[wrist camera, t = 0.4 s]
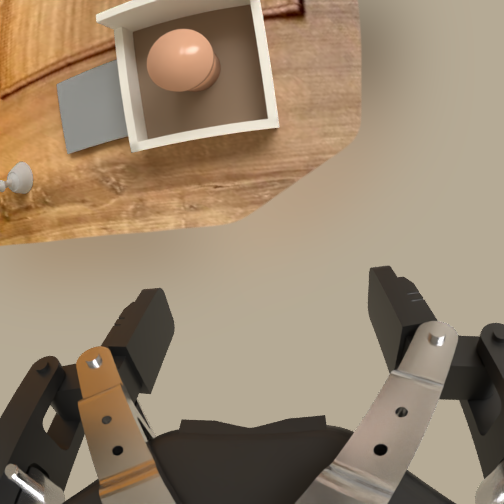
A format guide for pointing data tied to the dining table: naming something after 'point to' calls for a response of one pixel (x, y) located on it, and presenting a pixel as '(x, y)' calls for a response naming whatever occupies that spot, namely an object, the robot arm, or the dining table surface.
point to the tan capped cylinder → (183, 62)
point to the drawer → (190, 103)
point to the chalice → (18, 179)
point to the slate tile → (92, 108)
